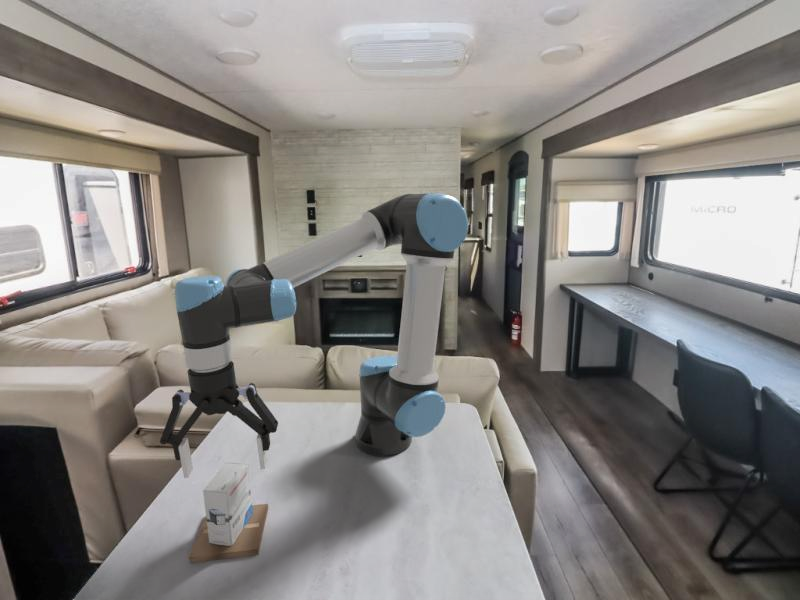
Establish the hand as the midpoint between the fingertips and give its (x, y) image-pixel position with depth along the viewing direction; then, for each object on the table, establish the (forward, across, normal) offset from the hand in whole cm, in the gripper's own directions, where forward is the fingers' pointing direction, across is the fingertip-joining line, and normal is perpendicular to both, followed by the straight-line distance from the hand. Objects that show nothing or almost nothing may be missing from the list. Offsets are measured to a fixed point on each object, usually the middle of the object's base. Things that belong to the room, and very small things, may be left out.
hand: (226, 469), depth 80 cm
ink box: (+13, 0, 0) cm, 13 cm away
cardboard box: (+14, +1, 0) cm, 14 cm away
